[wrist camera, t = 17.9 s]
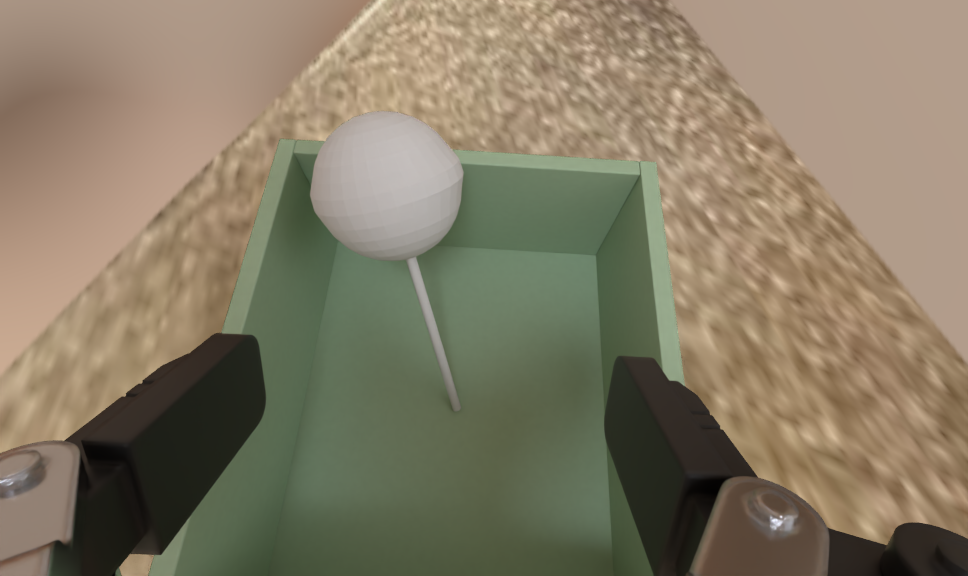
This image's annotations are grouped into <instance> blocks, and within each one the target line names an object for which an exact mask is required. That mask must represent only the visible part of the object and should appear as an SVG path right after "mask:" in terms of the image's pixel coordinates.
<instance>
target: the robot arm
mask: <svg viewBox="0 0 968 576" xmlns="http://www.w3.org/2000/svg"><path fill="white" fill-rule="evenodd" d="M265 406H266V390H265V383H264V376H263V369H262V362H261V355H260V348H259V343H258V340H257V338H256V337H255V336H253V335H247V334H229V333H216V334H214V335H212V336H211V337H209V338H208V339H207V340H206V341H204V342H203V343H202V344H201V345H199V346H198V347H197V348H196V349H194V350H193V351H192V352H191V353H189V354H186V355H184V356H182V357H180V358H178V359H175V360H173V361H171V362H169V363H167V364H165V365H162V366H161V367H160V368H158V369H157V370H156V371H154V372H153V373H152V374H151V375H149V376H148V377H147V378H145V379H144V380H143V383H142V384H138V385H136V386H135V387H134V388H132V389H131V390H130V391H128V392H127V393H126V396H125V397H121V398H119V399H118V400H117V401H115V402H114V403H113V404H112V405H110V406H109V407H108V408H106V409H105V410H104V411H102V412H101V413H100V414H99V415H97V416H96V417H95V418H93V419H92V420H91V421H89V422H88V423H87V424H86V425H84V426H83V427H82V428H80V429H79V430H78V431H76V432H75V433H74V434H73V435H71V436H70V437H69V438H67V439H66V440H65V441H54V440H53V441H43V442H36V443H32V444H27V445H23V446H20V447H17V448H13V449H11V450H8V451H5V452H2V453H0V576H122V575H121V572H120V570H119V566H120V565H121V564H122V563H123V562H124V560H125V559H126V558H127V557H128V555H129V554H148V555H162V553H163V552H164V551H165V549H166V548H167V547H168V545H169V544H170V543H171V541H172V540H173V539H174V537H175V536H176V535H177V533H178V532H179V531H180V529H181V528H182V527H183V525H184V524H185V523H186V521H187V520H188V519H189V517H190V516H191V515H192V513H193V512H194V510H195V509H196V508H197V506H198V505H199V504H200V502H201V501H202V500H203V498H204V497H205V496H206V494H207V493H208V492H209V490H210V489H211V488H212V486H213V485H214V484H215V482H216V481H217V480H218V478H219V477H220V476H221V474H222V473H223V471H224V470H225V469H226V467H227V466H228V465H229V463H230V462H231V461H232V459H233V458H234V457H235V455H236V454H237V453H238V451H239V450H240V449H241V447H242V446H243V445H244V443H245V442H246V441H247V439H248V438H249V437H250V435H251V434H252V432H253V431H254V430H255V428H256V427H257V426H258V424H259V423H260V421H261V419H262V417H263V414H264V411H265ZM604 432H605V439H606V443H607V446H608V448H609V451H610V454H611V457H612V460H613V463H614V465H615V468H616V471H617V474H618V477H619V479H620V482H621V485H622V488H623V491H624V493H625V496H626V499H627V502H628V505H629V507H630V510H631V513H632V516H633V519H634V521H635V524H636V527H637V530H638V533H639V536H640V538H641V541H642V544H643V547H644V550H645V552H646V555H647V558H648V561H649V564H650V566H651V569H652V572H653V575H654V576H968V539H967V538H965V537H963V536H961V535H958V534H956V533H953V532H951V531H949V530H946V529H943V528H940V527H936V526H933V525H929V524H923V523H905V524H902V525H900V526H898V527H897V528H896V529H895V531H894V533H893V535H892V537H891V539H890V541H889V543H888V545H884V544H880V543H877V542H873V541H870V540H866V539H863V538H860V537H856V536H853V535H849V534H846V533H842V532H839V531H836V530H832V529H829V528H827V526H826V524H825V523H824V521H823V519H822V518H821V517H820V515H819V514H818V513H817V512H816V511H815V510H814V509H813V508H812V507H811V506H810V505H809V504H808V503H807V502H806V501H805V500H803V499H802V498H800V497H799V496H798V495H796V494H795V493H793V492H791V491H790V490H788V489H786V488H784V487H782V486H780V485H778V484H775V483H773V482H770V481H767V480H764V479H761V478H758V477H757V475H756V474H755V473H754V471H753V470H752V469H751V467H750V466H749V465H748V463H747V462H746V461H745V459H744V458H743V456H742V455H741V454H740V452H739V451H738V450H737V448H736V447H735V446H734V444H733V443H732V442H731V440H730V439H729V438H728V436H727V435H726V433H725V432H724V431H723V430H720V425H719V424H718V423H717V421H716V420H715V419H714V417H713V416H712V415H710V412H709V410H708V409H707V408H706V406H705V405H704V404H703V402H702V401H701V400H700V398H699V397H698V396H697V395H696V394H695V393H693V392H692V391H691V390H689V389H688V388H686V387H685V386H684V385H682V384H681V383H680V382H678V381H669V379H668V378H667V376H666V375H665V373H664V372H663V370H662V369H661V367H660V366H659V365H658V363H657V362H656V360H655V359H654V358H652V357H636V356H618V357H617V358H616V360H615V362H614V366H613V371H612V377H611V382H610V388H609V393H608V399H607V404H606V410H605V416H604Z"/></svg>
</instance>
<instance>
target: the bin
mask: <svg viewBox="0 0 968 576" xmlns="http://www.w3.org/2000/svg"><path fill="white" fill-rule="evenodd" d="M324 142H325V141H310V140H297V141H296V140H293V139H280V140H279V143H278V146H277V150H276V153H275V156H274V160H273V163H272V166H271V170H270V173H269V176H268V180H267V183H266V186H265V189H264V193H263V196H262V199H261V203H260V206H259V209H258V213H257V216H256V219H255V223H254V226H253V229H252V233H251V236H250V239H249V243H248V246H247V249H246V253H245V256H244V259H243V262H242V266H241V269H240V272H239V276H238V279H237V282H236V286H235V289H234V292H233V296H232V299H231V302H230V306H229V309H228V312H227V316H226V319H225V322H224V326H223V329H222V332H221V333H229V334H247V335H253V336H255V337H256V338H257V340H258V343H259V348H260V355H261V362H262V369H263V376H264V383H265V390H266V406H265V411H264V414H263V417H262V419H261V421H260V423H259V424H258V426H257V427H256V428H255V430H254V431H253V432H252V434H251V435H250V437H249V438H248V439H247V441H246V442H245V443H244V445H243V446H242V447H241V449H240V450H239V451H238V453H237V454H236V455H235V457H234V458H233V459H232V461H231V462H230V463H229V465H228V466H227V467H226V469H225V470H224V471H223V473H222V474H221V476H220V477H219V478H218V480H217V481H216V482H215V484H214V485H213V486H212V488H211V489H210V490H209V492H208V493H207V494H206V496H205V497H204V498H203V500H202V501H201V502H200V504H199V505H198V506H197V508H196V509H195V510H194V512H193V513H192V515H191V516H190V517H189V519H188V520H187V521H186V523H185V524H184V525H183V527H182V528H181V529H180V531H179V532H178V533H177V535H176V536H175V537H174V539H173V540H172V541H171V543H170V544H169V545H168V547H167V548H166V549H165V551H164V552H163V553H162V555H154V558H153V561H152V564H151V568H150V571H149V574H148V576H654V575H653V572H652V569H651V566H650V564H649V561H648V558H647V555H646V552H645V550H644V547H643V544H642V541H641V538H640V536H639V533H638V530H637V527H636V524H635V521H634V519H633V516H632V513H631V510H630V507H629V505H628V502H627V499H626V496H625V493H624V491H623V488H622V485H621V482H620V479H619V477H618V474H617V471H616V468H615V465H614V463H613V460H612V457H611V454H610V451H609V448H608V446H607V443H606V439H605V432H604V416H605V410H606V404H607V399H608V393H609V388H610V382H611V377H612V371H613V366H614V362H615V360H616V358H617V357H618V356H636V357H652V358H654V359H655V360H656V362H657V363H658V365H659V366H660V367H661V369H662V370H663V372H664V373H665V375H666V376H667V378H668V379H669V381H678V382H680V383H681V384H682V385H684V386H685V383H684V376H683V368H682V360H681V352H680V344H679V337H678V329H677V321H676V313H675V305H674V298H673V290H672V282H671V274H670V267H669V259H668V251H667V243H666V235H665V228H664V220H663V212H662V204H661V196H660V189H659V181H658V173H657V165H656V162H646V161H640V162H638V161H626V160H610V159H595V158H579V157H563V156H547V155H531V154H515V153H500V152H484V151H468V150H453V152H454V153H455V154H456V155H457V156H458V158H459V160H460V163H461V166H462V169H463V172H464V175H463V183H462V193H461V203H460V206H459V210H458V213H457V217H456V219H455V221H454V223H453V225H452V227H451V229H450V230H449V231H448V233H447V234H446V235H445V236H444V237H443V239H442V240H441V241H440V242H439V243H438V244H437V245H435V246H434V247H432V248H431V249H429V250H428V251H426V252H425V253H423V254H421V255H419V256H416V259H417V262H418V265H419V269H420V272H421V275H422V279H423V282H424V285H425V289H426V292H427V295H428V299H429V302H430V305H431V309H432V312H433V315H434V319H435V322H436V325H437V329H438V332H439V335H440V339H441V342H442V345H443V348H444V352H445V355H446V358H447V362H448V365H449V368H450V372H451V375H452V378H453V382H454V385H455V388H456V392H457V395H458V398H459V402H460V405H461V409H460V410H459V411H453V409H452V405H451V402H450V399H449V396H448V393H447V390H446V386H445V383H444V380H443V377H442V374H441V370H440V367H439V364H438V361H437V358H436V354H435V351H434V348H433V345H432V342H431V339H430V335H429V332H428V329H427V326H426V323H425V319H424V316H423V313H422V310H421V307H420V303H419V300H418V297H417V294H416V291H415V288H414V284H413V281H412V278H411V275H410V272H409V268H408V265H407V262H406V260H401V261H381V260H375V259H371V258H368V257H364V256H362V255H359V254H357V253H356V252H354V251H352V250H350V249H348V248H347V247H346V246H344V245H343V244H342V243H341V242H340V241H338V240H337V239H336V238H335V237H334V236H333V235H332V234H331V232H330V231H329V230H328V229H327V227H326V226H325V225H324V224H323V222H322V221H321V220H320V218H319V217H318V216H317V214H316V213H315V212H314V208H313V204H312V201H311V197H310V191H311V184H312V177H313V170H314V164H315V161H316V158H317V155H318V153H319V150H320V148H321V147H322V145H323V144H324Z"/></svg>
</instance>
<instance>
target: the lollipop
mask: <svg viewBox="0 0 968 576" xmlns="http://www.w3.org/2000/svg"><path fill="white" fill-rule="evenodd" d="M463 175H464V172H463V169H462V166H461V163H460V160H459V158H458V156H457V155H456V154H455V153H454V152H453V150H452V149H451V148H450V147H449V146H448V145H447V143H446V142H445V141H444V140H443V139H442V138H441V136H440V135H439V134H438V133H437V132H436V131H435V130H433V129H432V128H431V127H429V126H428V125H427V124H426V123H424V122H422V121H420V120H418V119H416V118H414V117H412V116H409V115H405V114H402V113H398V112H390V111H376V112H370V113H365V114H362V115H359V116H356V117H353V118H351V119H350V120H348V121H346V122H345V123H343V124H341V125H340V126H339V127H338V128H337V129H336V130H335V131H334V132H333V133H332V134H331V135H329V136H328V138H327V139H326V141H325V142H324V144H323V145H322V147H321V148H320V150H319V153H318V155H317V158H316V161H315V164H314V170H313V177H312V184H311V191H310V197H311V201H312V204H313V208H314V212H315V213H316V214H317V216H318V217H319V218H320V220H321V221H322V222H323V224H324V225H325V226H326V227H327V229H328V230H329V231H330V232H331V234H332V235H333V236H334V237H335V238H336V239H337V240H338V241H340V242H341V243H342V244H343V245H344V246H346V247H347V248H348V249H350V250H352V251H354V252H356V253H357V254H359V255H362V256H364V257H368V258H371V259H375V260H381V261H401V260H406V262H407V265H408V268H409V272H410V275H411V278H412V281H413V284H414V288H415V291H416V294H417V297H418V300H419V303H420V307H421V310H422V313H423V316H424V319H425V323H426V326H427V329H428V332H429V335H430V339H431V342H432V345H433V348H434V351H435V354H436V358H437V361H438V364H439V367H440V370H441V374H442V377H443V380H444V383H445V386H446V390H447V393H448V396H449V399H450V402H451V405H452V409H453V411H459V410H460V409H461V405H460V402H459V398H458V395H457V392H456V388H455V385H454V382H453V378H452V375H451V372H450V368H449V365H448V362H447V358H446V355H445V352H444V348H443V345H442V342H441V339H440V335H439V332H438V329H437V325H436V322H435V319H434V315H433V312H432V309H431V305H430V302H429V299H428V295H427V292H426V289H425V285H424V282H423V279H422V275H421V272H420V269H419V265H418V262H417V259H416V256H419V255H421V254H423V253H425V252H426V251H428V250H429V249H431V248H432V247H434V246H435V245H437V244H438V243H439V242H440V241H441V240H442V239H443V237H444V236H445V235H446V234H447V233H448V231H449V230H450V229H451V227H452V225H453V223H454V221H455V219H456V217H457V213H458V210H459V206H460V203H461V193H462V183H463Z"/></svg>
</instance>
